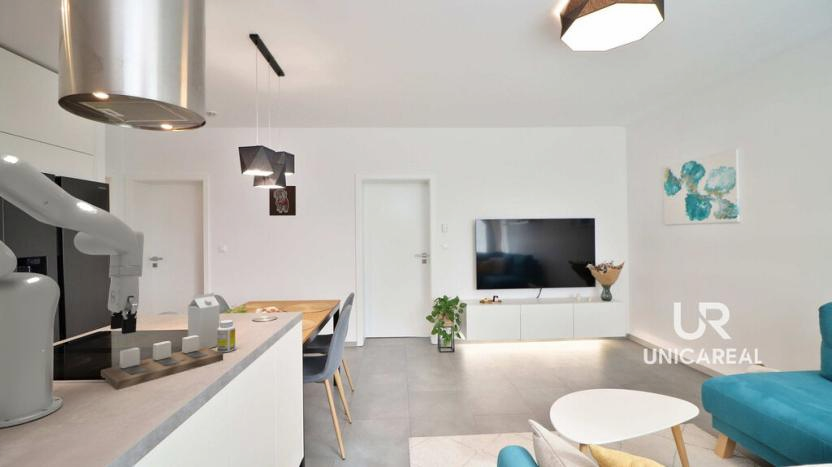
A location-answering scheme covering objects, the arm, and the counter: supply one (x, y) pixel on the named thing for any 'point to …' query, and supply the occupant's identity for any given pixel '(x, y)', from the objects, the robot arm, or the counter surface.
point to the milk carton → (204, 319)
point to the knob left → (129, 357)
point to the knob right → (190, 344)
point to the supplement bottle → (226, 336)
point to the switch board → (159, 367)
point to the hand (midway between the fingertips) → (122, 330)
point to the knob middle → (161, 350)
